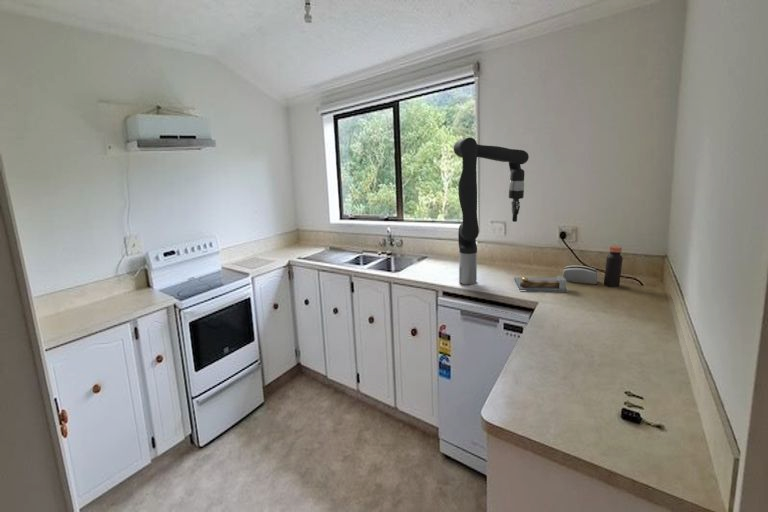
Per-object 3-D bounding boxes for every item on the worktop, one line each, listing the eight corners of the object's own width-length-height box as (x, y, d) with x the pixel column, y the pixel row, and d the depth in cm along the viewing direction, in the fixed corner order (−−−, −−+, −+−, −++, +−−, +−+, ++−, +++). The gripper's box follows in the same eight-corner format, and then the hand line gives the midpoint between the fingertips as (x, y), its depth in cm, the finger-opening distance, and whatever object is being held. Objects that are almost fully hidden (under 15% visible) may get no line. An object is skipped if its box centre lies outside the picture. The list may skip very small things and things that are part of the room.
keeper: (559, 289, 180) (559, 280, 179) (555, 284, 187) (556, 275, 186) (565, 289, 180) (566, 280, 179) (561, 284, 187) (562, 275, 185)
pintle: (522, 281, 185) (522, 278, 185) (521, 279, 188) (521, 277, 187) (528, 281, 185) (528, 278, 184) (527, 279, 187) (527, 277, 187)
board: (519, 291, 184) (519, 288, 184) (514, 279, 201) (514, 277, 201) (566, 292, 180) (567, 289, 180) (557, 280, 197) (557, 278, 197)
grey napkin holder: (597, 281, 193) (599, 265, 187) (597, 286, 189) (598, 271, 184) (562, 277, 201) (563, 262, 196) (561, 282, 198) (562, 267, 192)
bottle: (605, 282, 190) (610, 244, 185) (620, 284, 186) (625, 246, 181) (601, 285, 186) (606, 247, 181) (617, 288, 181) (622, 249, 176)
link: (520, 287, 185) (521, 282, 184) (519, 284, 189) (519, 279, 189) (564, 287, 181) (565, 283, 181) (562, 284, 185) (562, 280, 185)
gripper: (507, 188, 202) (505, 219, 207) (510, 190, 190) (508, 223, 194) (521, 188, 201) (519, 219, 205) (526, 190, 188) (523, 223, 193)
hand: (514, 221), depth 200 cm, fingers closed
